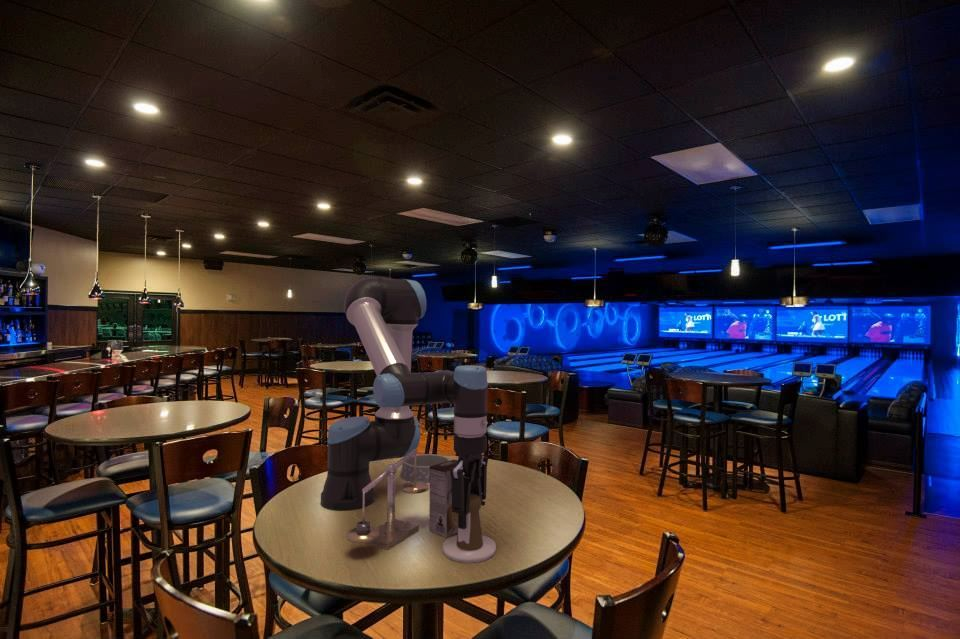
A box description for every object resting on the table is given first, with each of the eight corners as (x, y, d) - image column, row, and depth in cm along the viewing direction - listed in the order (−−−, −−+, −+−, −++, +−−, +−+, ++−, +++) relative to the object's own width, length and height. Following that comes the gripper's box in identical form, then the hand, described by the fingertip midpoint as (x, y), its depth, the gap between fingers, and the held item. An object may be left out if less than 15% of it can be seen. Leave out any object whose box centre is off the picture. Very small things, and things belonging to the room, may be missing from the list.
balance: (338, 554, 109) (339, 468, 109) (410, 515, 132) (411, 443, 132) (366, 563, 105) (367, 473, 105) (435, 521, 128) (436, 447, 129)
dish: (432, 554, 109) (432, 549, 109) (460, 535, 120) (460, 530, 120) (479, 567, 104) (479, 562, 104) (504, 545, 114) (504, 540, 114)
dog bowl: (462, 473, 172) (462, 457, 172) (430, 487, 156) (430, 470, 156) (423, 465, 181) (423, 450, 181) (389, 478, 165) (389, 462, 165)
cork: (461, 536, 115) (462, 489, 116) (486, 540, 114) (486, 492, 114) (452, 547, 110) (452, 498, 110) (478, 551, 108) (478, 501, 108)
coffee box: (453, 520, 129) (454, 458, 129) (472, 526, 125) (472, 463, 125) (428, 531, 122) (428, 465, 122) (446, 538, 118) (447, 470, 118)
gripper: (465, 443, 103) (464, 557, 102) (501, 429, 118) (501, 527, 117) (435, 439, 106) (434, 549, 106) (474, 426, 121) (473, 521, 121)
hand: (469, 537), depth 112 cm, fingers closed on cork, 4 cm apart
